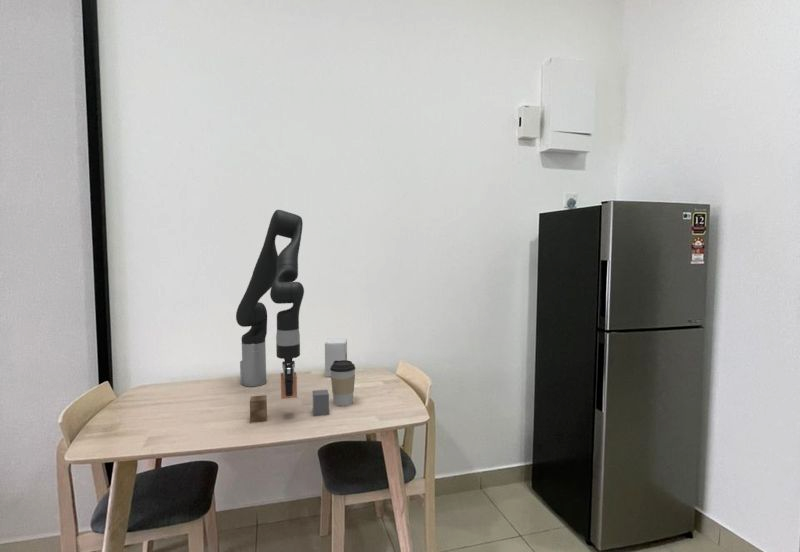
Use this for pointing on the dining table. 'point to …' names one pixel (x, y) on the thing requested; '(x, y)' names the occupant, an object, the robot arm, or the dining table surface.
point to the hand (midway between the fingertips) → (289, 392)
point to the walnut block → (258, 408)
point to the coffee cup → (342, 382)
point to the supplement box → (334, 353)
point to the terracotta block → (283, 388)
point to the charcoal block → (320, 402)
